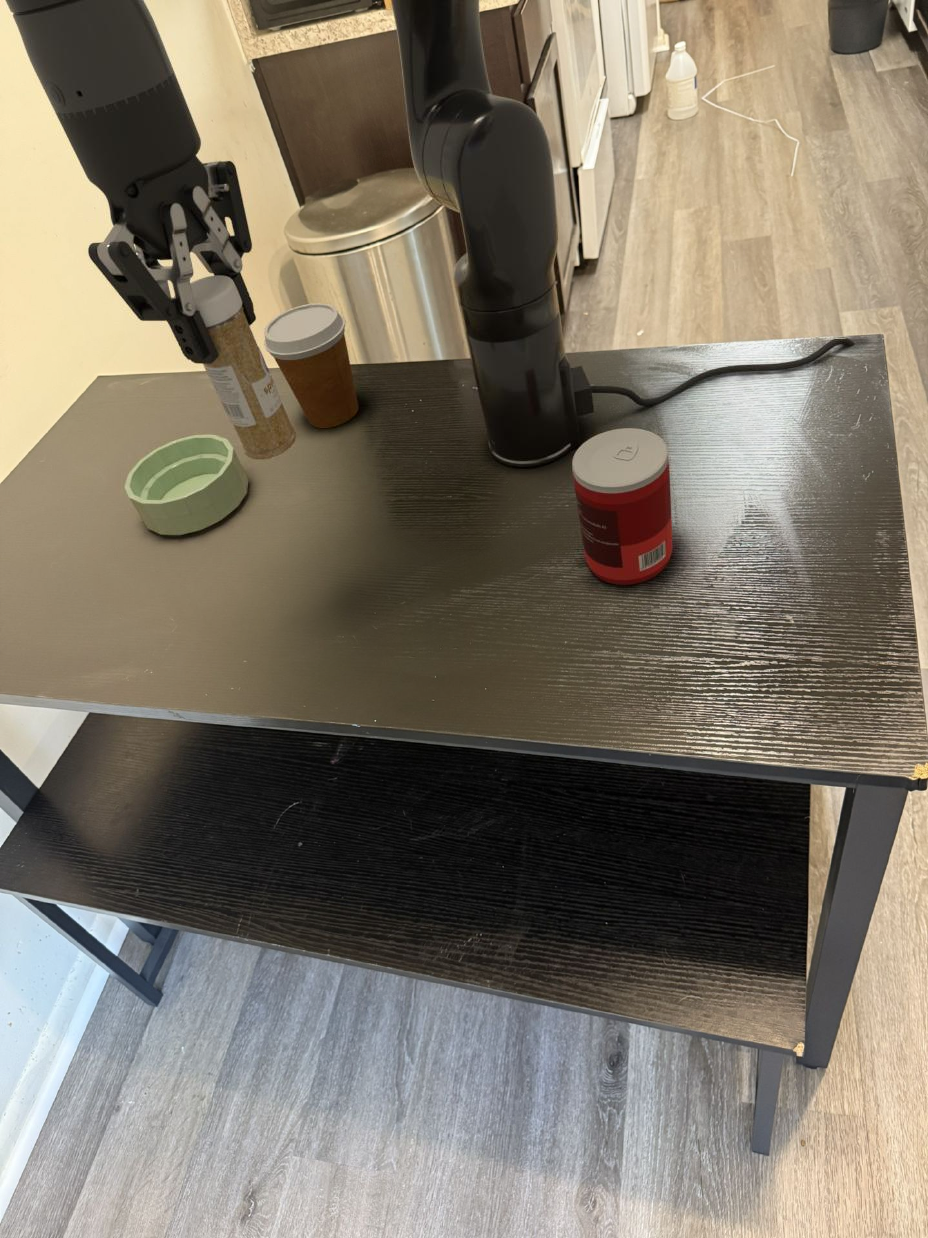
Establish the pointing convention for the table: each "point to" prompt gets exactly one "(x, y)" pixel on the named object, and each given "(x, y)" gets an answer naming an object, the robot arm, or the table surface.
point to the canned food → (624, 504)
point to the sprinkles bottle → (241, 371)
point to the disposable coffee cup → (314, 361)
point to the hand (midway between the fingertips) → (225, 340)
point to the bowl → (187, 484)
